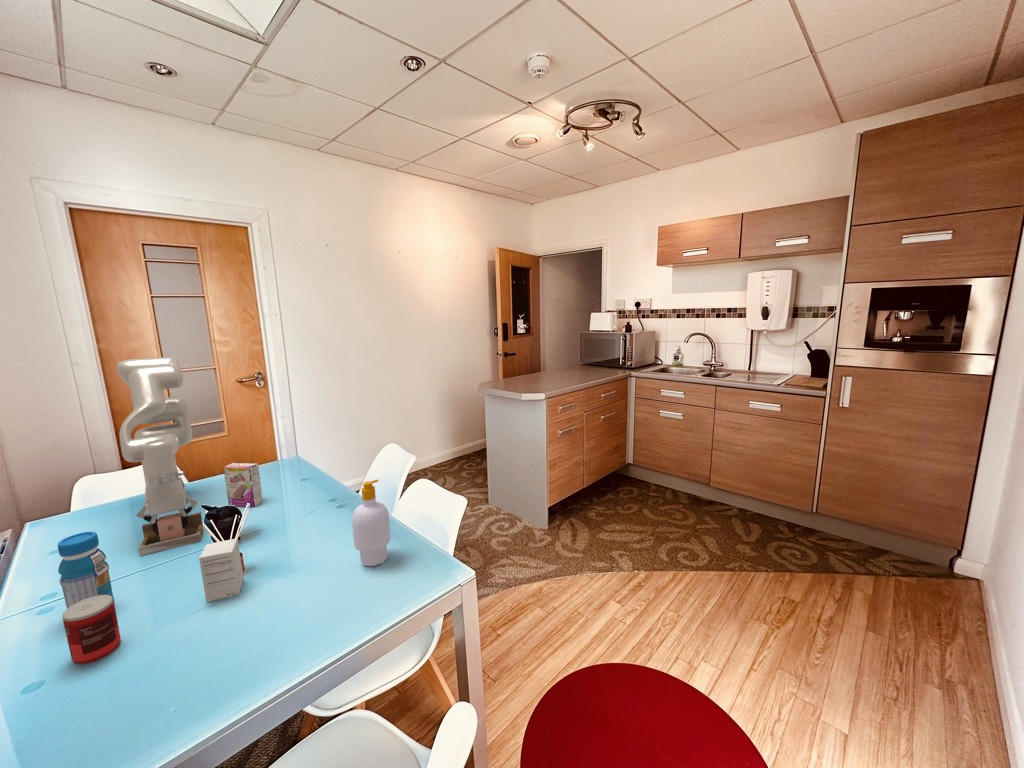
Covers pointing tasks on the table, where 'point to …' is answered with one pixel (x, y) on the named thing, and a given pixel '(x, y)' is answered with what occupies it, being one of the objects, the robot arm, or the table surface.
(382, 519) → the soap bottle
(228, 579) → the supplement box
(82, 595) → the beverage bottle
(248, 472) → the candy bar box
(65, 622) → the canned food
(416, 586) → the table surface
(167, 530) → the salmon pink block
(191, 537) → the board
